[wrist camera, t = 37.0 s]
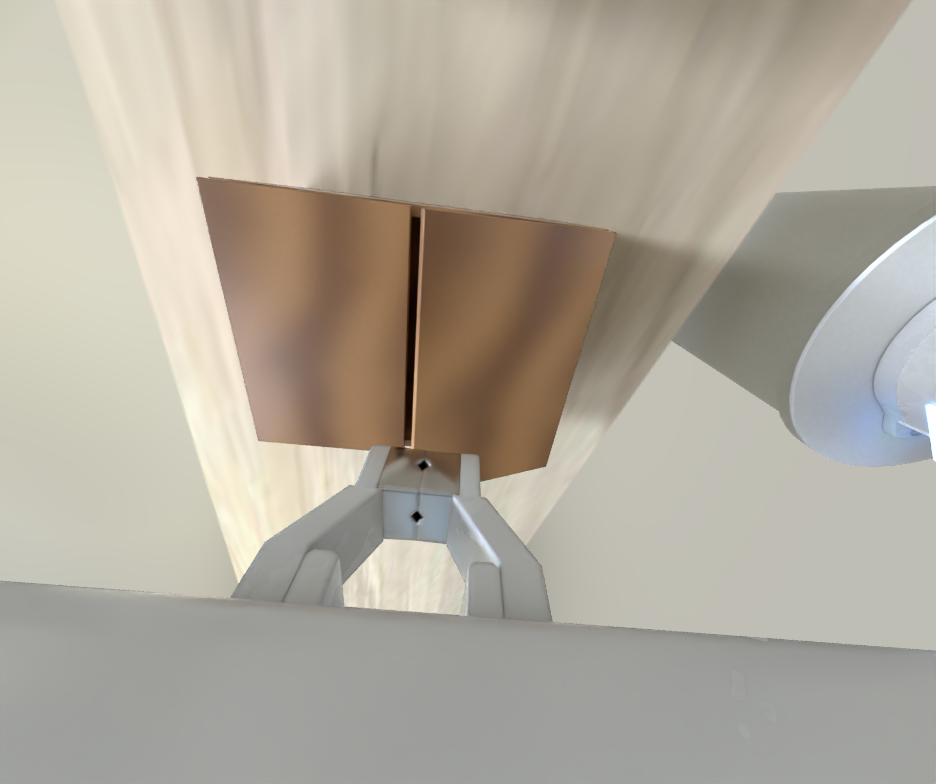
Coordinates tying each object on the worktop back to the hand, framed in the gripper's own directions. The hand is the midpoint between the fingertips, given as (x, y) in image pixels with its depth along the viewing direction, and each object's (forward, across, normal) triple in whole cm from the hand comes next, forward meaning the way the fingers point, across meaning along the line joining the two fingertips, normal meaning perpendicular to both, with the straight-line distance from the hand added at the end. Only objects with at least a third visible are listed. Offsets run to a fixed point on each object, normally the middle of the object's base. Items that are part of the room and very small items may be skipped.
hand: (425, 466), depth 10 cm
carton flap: (+7, -3, 0) cm, 7 cm away
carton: (+18, +2, 0) cm, 18 cm away
